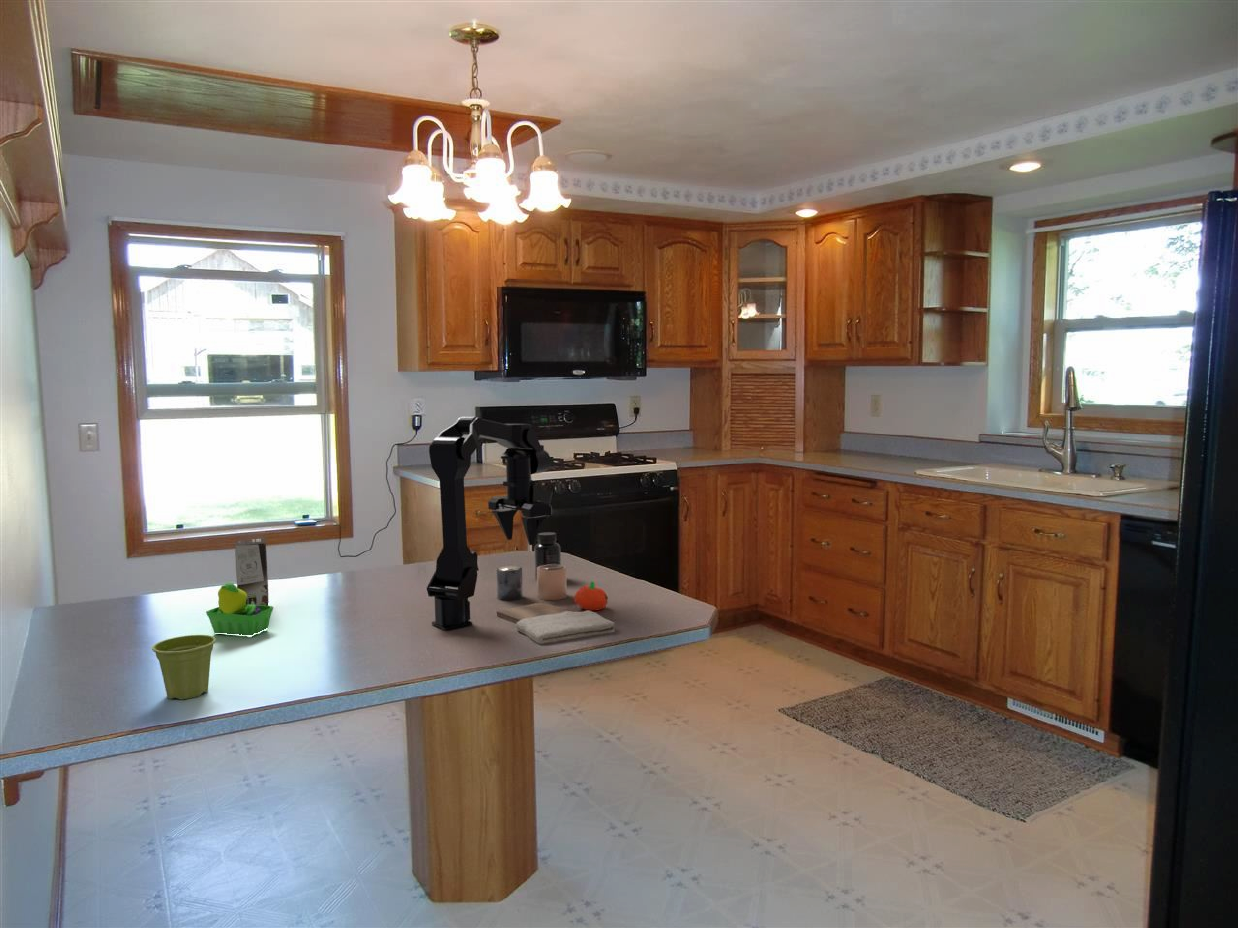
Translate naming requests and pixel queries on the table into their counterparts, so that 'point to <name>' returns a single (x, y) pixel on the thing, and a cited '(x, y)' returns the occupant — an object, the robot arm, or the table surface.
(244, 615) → the fruit basket
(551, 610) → the walnut board
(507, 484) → the robot arm
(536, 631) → the washcloth
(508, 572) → the black metal can
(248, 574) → the coffee box
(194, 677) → the plant pot
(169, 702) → the table surface
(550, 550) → the supplement bottle
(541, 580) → the terracotta cup
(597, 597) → the pumpkin
